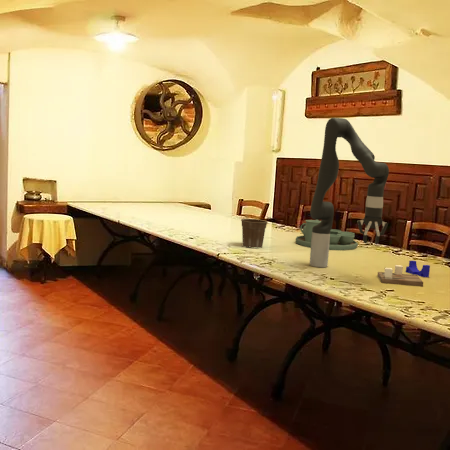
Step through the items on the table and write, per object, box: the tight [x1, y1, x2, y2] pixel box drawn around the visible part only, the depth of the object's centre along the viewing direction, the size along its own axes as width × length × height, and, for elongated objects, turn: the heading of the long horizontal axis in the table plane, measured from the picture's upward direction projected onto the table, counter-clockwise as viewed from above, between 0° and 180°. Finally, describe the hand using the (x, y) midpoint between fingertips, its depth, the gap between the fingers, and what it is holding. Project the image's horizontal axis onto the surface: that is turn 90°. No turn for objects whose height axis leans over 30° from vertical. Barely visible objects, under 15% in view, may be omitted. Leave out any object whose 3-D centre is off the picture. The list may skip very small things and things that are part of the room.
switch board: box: [376, 271, 424, 287], centre depth 240 cm, size 15×18×2 cm
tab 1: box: [383, 267, 393, 278], centre depth 236 cm, size 3×3×4 cm
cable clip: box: [405, 260, 431, 278], centre depth 257 cm, size 12×4×6 cm, turn 17°
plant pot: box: [240, 218, 268, 248], centre depth 313 cm, size 16×16×16 cm
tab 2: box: [394, 264, 404, 275], centre depth 244 cm, size 3×3×4 cm
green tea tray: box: [295, 219, 359, 251], centre depth 336 cm, size 40×40×16 cm
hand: (370, 243), depth 236 cm, fingers open, 4 cm apart
